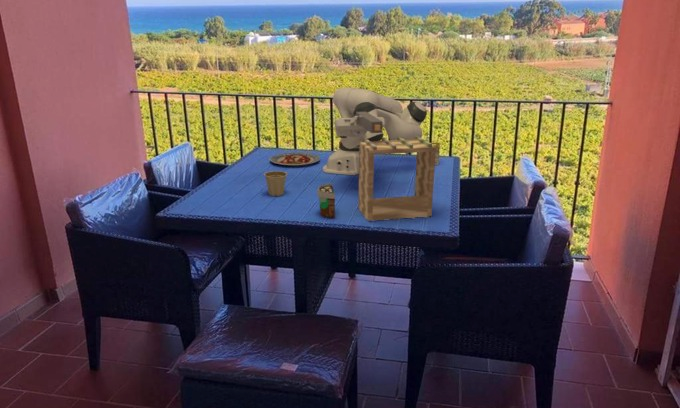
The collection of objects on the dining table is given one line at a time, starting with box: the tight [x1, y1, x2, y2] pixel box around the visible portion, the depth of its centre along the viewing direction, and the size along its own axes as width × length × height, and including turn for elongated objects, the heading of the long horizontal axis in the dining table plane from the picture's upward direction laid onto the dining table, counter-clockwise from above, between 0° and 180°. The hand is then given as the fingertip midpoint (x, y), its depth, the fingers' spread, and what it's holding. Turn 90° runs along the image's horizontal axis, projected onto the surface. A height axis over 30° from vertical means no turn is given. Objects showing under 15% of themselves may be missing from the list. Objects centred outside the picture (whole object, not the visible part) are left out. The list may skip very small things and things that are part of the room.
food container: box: [316, 183, 336, 219], centre depth 190 cm, size 12×6×10 cm, turn 5°
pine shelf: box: [357, 136, 436, 222], centre depth 189 cm, size 14×24×27 cm, turn 102°
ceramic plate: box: [269, 151, 321, 167], centre depth 265 cm, size 26×26×3 cm
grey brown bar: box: [356, 112, 383, 133], centre depth 194 cm, size 24×4×4 cm, turn 12°
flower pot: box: [263, 170, 288, 197], centre depth 213 cm, size 9×9×9 cm
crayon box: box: [430, 142, 441, 166], centre depth 259 cm, size 7×3×12 cm, turn 98°
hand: (363, 117), depth 201 cm, fingers closed on grey brown bar, 4 cm apart
